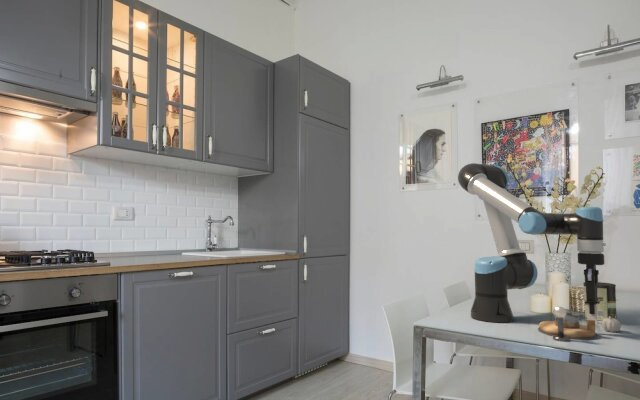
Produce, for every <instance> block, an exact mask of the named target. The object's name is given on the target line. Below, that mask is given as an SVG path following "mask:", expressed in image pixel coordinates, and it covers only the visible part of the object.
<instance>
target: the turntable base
mask: <svg viewBox="0 0 640 400" xmlns="http://www.w3.org/2000/svg"><path fill="white" fill-rule="evenodd" d="M537 331H538V332H539V333H542V334H544V335H547V336H550V337H553V334H549V333H546V332H543V331H541V330H540V326H539V327H538V328H537ZM597 338H598V335H597V333H595V336H594V337H591V338H572V337H569V340H579V341H581V340H584V341H585V340H587V341H588V340H589V341H590V340H595V339H597Z"/></svg>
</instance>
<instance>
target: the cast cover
mask: <svg viewBox="0 0 640 400" xmlns="http://www.w3.org/2000/svg"><path fill="white" fill-rule="evenodd" d="M564 309H565V310H566V312H567V314H566V316H565V317H564V318H563V324H564V328H569V329H578V328H579V324H580V314H578V313H573V310H572V309H570V308H564ZM554 321H555V325H556V326H558V318H557V317H555V316H554Z"/></svg>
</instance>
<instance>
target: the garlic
mask: <svg viewBox="0 0 640 400" xmlns="http://www.w3.org/2000/svg"><path fill="white" fill-rule="evenodd" d="M601 326H602V328H603V329H604V331H606V332H611V333H617V332H619V331H621V328H622V324H621V322H620V321H619V320H618V318H617V319H614V318H611V316H609V318H605V319H603V321H602V323H601Z"/></svg>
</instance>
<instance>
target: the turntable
mask: <svg viewBox="0 0 640 400" xmlns="http://www.w3.org/2000/svg"><path fill="white" fill-rule="evenodd" d="M539 327H540V330H541V331H543V332H546V333H549V334H553V335H558V326H556V325H555V320H545V321H544V320H543V321H541V322H539ZM595 334H596V324H595V320H586V324H583V323H579V328H578V329H569V328H564V336H566V337H572V338H591V337H594V336H595Z"/></svg>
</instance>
